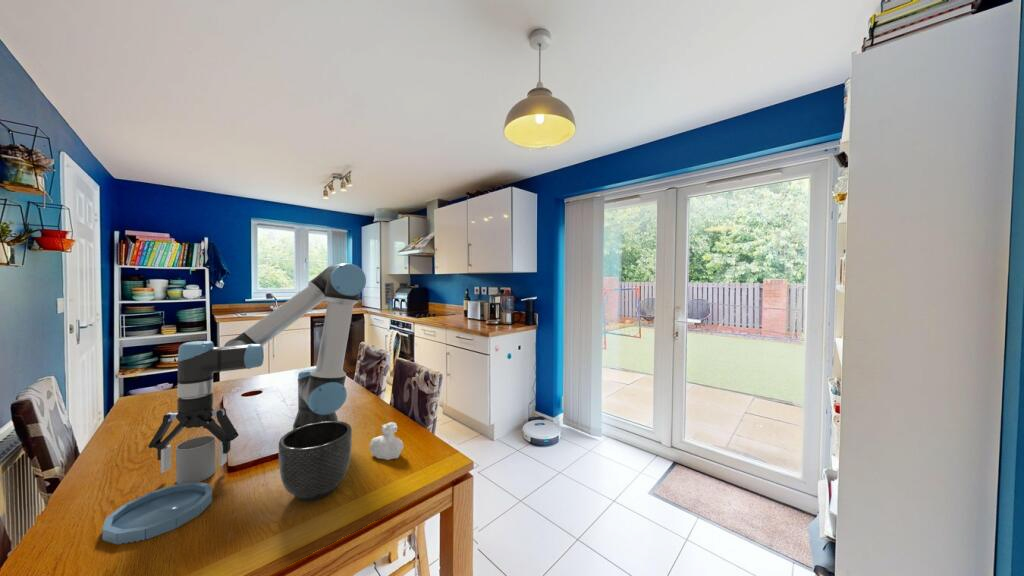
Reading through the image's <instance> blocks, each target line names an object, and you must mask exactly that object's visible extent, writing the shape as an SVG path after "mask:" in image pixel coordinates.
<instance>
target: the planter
mask: <svg viewBox="0 0 1024 576" xmlns="http://www.w3.org/2000/svg"><path fill="white" fill-rule="evenodd" d="M352 438H353V430H352V426H351V425H350V424H349V423H347V422H346V421H339V420H338V421H323V422H316V423H312V424H308V425H304V426H301V427H299V428H296V429H294V430H293V429H292V430H290V431H288V432H287V433H285V434H284V435H283V436H281V438H280V439H279V441H278V466H279V467H278V468H279V473H280V479H281V483H282V485H283V487H284V489H285V490H286V492H288V493H289V494H290V495H292V496H294V497H296V498H297V499H298V500H300V501H301V502H307V503H308V502H315V501H319V500H321V499H324V498H326V497H328V496H330V494H332V493H333V492H334V491H335V489H336V487H337V486H338V485H339V484H340V483H341V482H342V481H343V479H344V478H345V476H346V475H347V472H348V469H349V467H350V462H351V457H352V456H351V454H352V447H353V446H352V444H353V443H352V442H353V439H352Z"/></svg>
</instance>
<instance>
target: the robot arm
mask: <svg viewBox="0 0 1024 576" xmlns="http://www.w3.org/2000/svg"><path fill="white" fill-rule="evenodd" d="M366 277H367V276H366V273H365V272H364V270H363V269H362V268H360V266H358V265H356V264H353V263H349V262H342V263H337V264H331V265H329V266H328V267H326V268H324V269H323V271H322V272H320V273H319V274H318V275H316V276H315V277H314V278H313V279H312V280H310V281H308V285H307V286H306V287H305V288H303V289H302V290H301V291H299V292H298V293H296V294H295V295H294V296H292V297H291V298H289V299H288V300H286V302H284V303H282V304H281V305H280V306H278V307H277V308H276V309H274V310H272V311H271V312H270V313H268V314H267V315H266V316H264V317H262V319H260V320H258V321H257V322H255V323H254V324H253V325H251V326H250V327H249V328H247V329H246V330H245V331H243V332H241V334H239V335H237V336H236V337H233V338H231V339H229V340H228V341H227V342H225V344H224V345H223V346H215V345H214V342H213V341H211V340H196V341H187V342H184V343H182V344H181V345H179V347H178V352H177V397H178V398H177V399H176V400H177V401H176V402H177V405H176V407H177V412H175V411H170V412H168V413H165V414H164V415H163V416H162V422H161V424H160V426H159V427H158V429H157V431H156V432H155V434H154V435H153V437H152V439H151V441H150V443H149V444H148V449H152V448H153V449H156V450H157V460H158V461H160V473H161V474H162V473H165V472H167V471H168V470H169V469H171V468H172V445H171V444H170V443H171V441H173V440H174V439H175V437H177V435H178V434H179V433H180V432H181V431H182V430H183V429H184V428H186V429H192V428H201V427H202V428H204V429H206V430H207V431H208V432H210V433H211V434H212V436H214V437H215V438H216V439H217V440H219V441H220V443H219V444H218V467H222V466H223V465H224V464H226V463H227V462H228V453H229V452H230V451H231V441H234V440H235V439H237V437H239V433H238V431H237V430H236V428H235V426H234V424H233V423H232V421H231V420H230V419H229V417H228V414H227V409H226V408H225V407H222V408H221V409H215V410H214V409H213V405H214V394H213V391H214V373H221V372H222V373H223V372H230V371H238V370H240V371H241V370H250V369H253V368H259V367H261V366H263V364H264V346H265V344H267V343H269V342H271V340H273V339H274V338H276V337H277V336H278V335H279V334H281V333H282V332H283V331H285V330H286V329H287V328H289V327H290V326H291V325H293V324H294V323H295V322H297V321H298V320H299V319H300V318H302V317H304V315H307V313H309V312H310V311H311V310H313V309H314V308H316V307H317V306H318V305H320V304H321V303H322V302H327V306H326V311H325V316H324V323H323V328H322V334H321V339H320V345H319V349H318V355H317V361H316V365H315V368H309V369H303V370H302V371H301V370H300V372H299V373H298V375H297V376H298V377H297V394H298V395H297V402H298V403H297V405H298V407H297V410H298V411H297V413H296V416H295V419H294V422H293V424H292V430H294V429H296V428H299V427H301V426H304V425H308V424H312V423H316V422H323V421H339V419H338V418H339V417H338V415H337V411H338V410H340V409H341V408H342V407H343V406H344V404H345V402H346V399H347V396H348V393H347V388H346V387H345V383H346V378H347V373H346V372H345V371H344V369H343V368H344V364H345V363H344V362H345V356H346V351H347V347H348V346H347V345H348V339H349V333H350V329H351V322H352V318H353V316H352V315H353V310H354V306H355V305H356V304H358V303H359V301H360V296H361V293H362V292H363V290H364V288H365V287H366V284H367V278H366ZM213 416H214V418H216V419H214V418H213ZM175 420H177V421H178V424H177V425H176V426H175V427H174V428H173V429H172V431H171V432H170V433H168V430H169V428H170V426H171V425H172V424H173V422H174V421H175ZM216 420H217V422H218V424H217V422H216ZM166 433H168V435H167V436H166V437H165V435H166ZM164 437H165V438H164Z"/></svg>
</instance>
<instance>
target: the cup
mask: <svg viewBox="0 0 1024 576" xmlns="http://www.w3.org/2000/svg"><path fill="white" fill-rule="evenodd" d="M216 450H217V449H216V437H215V436H214V435H203V436H197V437H194V438H190V439H187V440H184V441H182V442H181V443H179V444H177V445H176V447H175V466H176V467H175V471H176V472H175V473H176V474H175V475H176V476H175V477H176V478H175V479H176V481H175V482H176V483H175V484H183V483H190V482H203V481H204V480H207V479H209V478H210V477H212V476H213V475H215V473H216V469H217V465H216V463H217V461H216V460H217V459H216V457H217V456H216V455H217V454H216Z"/></svg>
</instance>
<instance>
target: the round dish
mask: <svg viewBox="0 0 1024 576" xmlns="http://www.w3.org/2000/svg"><path fill="white" fill-rule="evenodd" d="M212 502H213V490H212V485H211V483H206V482H203V481H200V482H190V483H183V484H177V483H175V484H173V485H168V486H167V487H163V488H160V489H156V490H153V491H149V492H148V493H145V494H143V495H141V496H138V497H137V498H134V499H133V500H130V501H129V502H126V503H125V504H122V505H120V506H119V508H117V509H115V510H114V511H113V512H112V513H110V514H109V515H107V517H105V519H104V522H103V526H102V531H101V533H102V536H101V537H102V541H104V542H107V543H111V544H114V545H122V543H124V544H129V543H128V542H130V543H135V542H134V541H136V542H140V540H142V541H146V540H145V539H147V540H149V539H151V538H153V537H157V536H160V535H162V534H165V533H168V532H171V531H173V530H177V528H179V527H181V526H183V525H185V524H186V523H188V522H190V521H191V520H193V519H195V518H197V517H198V516H200V515H202V513H203V512H205V510H206V509H207V508H208V507H209V506H210V504H212Z"/></svg>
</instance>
